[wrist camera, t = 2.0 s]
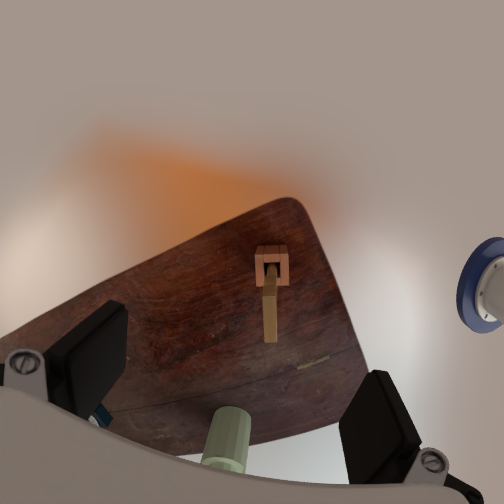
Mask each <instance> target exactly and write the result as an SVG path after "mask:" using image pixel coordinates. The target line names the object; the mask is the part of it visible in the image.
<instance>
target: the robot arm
mask: <svg viewBox="0 0 504 504" xmlns="http://www.w3.org/2000/svg"><path fill="white" fill-rule="evenodd" d="M475 308H476V311H477V313H478V315H479V316H480V317H481V318H482V319H483V320H485V321H487V322H493V321H496V320H498V321H500V322H501V323H502V324H504V256H499V257H497V258H495V259H494V260H492V261H491V262H490V263H489V264H488V266H487V267H486V268H485V270H484V271H483V273H482V275H481V277H480V279H479V282H478V285H477V288H476V293H475ZM127 325H128V310H127V309H125V305H124V304H121V303H119V302H116V301H113V300H109V301H108V302H106V303H105V304H104V305H102V306H101V307H100V308H99V309H97V310H96V311H95V312H93V313H92V314H91V315H90V316H88V317H87V318H86V319H85V320H83V321H82V322H81V323H80V324H78V325H77V326H76V327H75V328H73V329H72V330H71V331H70V332H68V333H67V334H66V335H65V336H63V337H62V338H61V339H60V340H59V341H57V342H56V343H55V344H54V345H52V346H51V347H50V348H49V349H48V350H47V351H46V352H44V353H43V354H42V355H41V354H40V353H39V352H37V351H36V350H33V349H29V348H19V349H16V350H13V351H12V352H10V353H9V354H8V356H7V357H6V360H5V364H0V504H484V500H483V497H482V495H481V493H480V492H479V491H478V490H477V489H475V488H474V487H472V486H470V485H468V484H466V483H464V482H462V481H461V480H459V479H457V478H455V477H454V476H452V475H450V474H448V470H449V462H448V460H447V458H446V456H445V455H444V454H443V453H442V452H440V451H439V450H437V449H434V448H429V447H428V448H423V449H422V450H421V449H420V447H419V446H420V444H421V443H422V441H421V439H420V437H419V435H418V433H417V430H416V428H415V426H414V424H413V422H412V420H411V417H410V415H409V413H408V411H407V409H406V407H405V405H404V403H403V401H402V399H401V397H400V395H399V393H398V391H397V389H396V387H395V385H394V383H393V381H392V379H391V377H390V375H389V373H388V372H387V371H381V370H373V371H372V372H371V373H370V372H369V373H367V375H366V376H365V378H364V380H363V382H362V384H361V385H360V387H359V389H358V391H357V392H356V394H355V396H354V398H353V399H352V401H351V403H350V404H349V406H348V408H347V409H346V411H345V413H344V414H343V416H342V417H341V419H340V421H339V431H340V437H341V442H342V446H343V451H344V457H345V462H346V468H347V473H348V479H349V484H322V483H308V482H297V481H288V480H280V479H272V478H265V477H259V476H253V475H247V474H243V473H238V472H233V471H228V470H224V469H219V468H215V467H211V466H207V465H203V464H200V463H196V462H192V461H189V460H185V459H182V458H179V457H176V456H172V455H169V454H166V453H163V452H160V451H157V450H155V449H152V448H149V447H146V446H144V445H141V444H138V443H136V442H133V441H131V440H128V439H126V438H124V437H121V436H119V435H117V434H114V433H112V432H110V431H107V430H105V429H103V428H101V427H98V426H96V425H94V424H92V423H90V422H88V421H87V420H88V419H89V418H90V416H91V415H92V414H93V412H94V411H95V409H96V408H97V407H98V405H99V404H100V403H101V401H102V400H103V399H104V397H105V396H106V395H107V393H108V392H109V390H110V389H111V388H112V386H113V385H114V384H115V382H116V381H117V380H118V378H119V377H120V376H121V374H122V373H123V371H124V369H125V365H126V342H127Z"/></svg>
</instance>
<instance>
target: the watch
mask: <svg viewBox="0 0 504 504" xmlns="http://www.w3.org/2000/svg"><path fill="white" fill-rule="evenodd" d="M112 419H113V418H112V417H111V415H110V414H109V413H108V411H107V410H106V409H105V407H104V406H103V405H102V404H99V405H98V407H97V408H96V409H95V411H94V412H93V414H92V415H91V416H90V418H89V419H88V420H87V421H88V422H90V423H92V424H94V425H96V426H98V427H101V428H106V427H108V425H109V424H110V422H111V421H112Z"/></svg>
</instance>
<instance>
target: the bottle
mask: <svg viewBox="0 0 504 504" xmlns="http://www.w3.org/2000/svg"><path fill="white" fill-rule="evenodd" d="M250 429H251V417H250V415H249V414H248V413H247V412H246V411H245V410H243V409H241V408H238V407H233V406H226V407H221V408H219V409H218V410H216V412H215V413H214V416H213V419H212V423H211V426H210V430H209V434H208V437H207V441H206V445H205V448H204V452H203V456H202V460H201V463H200V464H203V465H207V466H211V467H215V468H219V469H224V470H228V471H233V472H238V473H243V474H244V473H245V470H246V461H247V454H248V446H249V438H250Z"/></svg>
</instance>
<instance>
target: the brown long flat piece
mask: <svg viewBox="0 0 504 504" xmlns="http://www.w3.org/2000/svg"><path fill="white" fill-rule="evenodd" d="M262 303H263V323H264V342H265V343H267V342H277V262H268V269H267V275H265V277H264V286H263V294H262Z"/></svg>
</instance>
